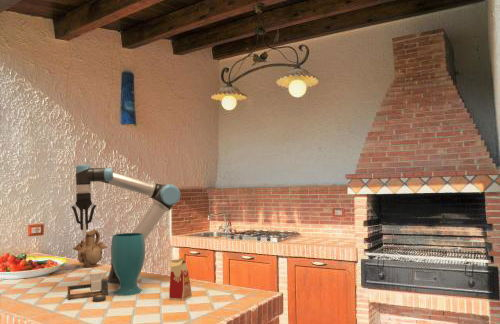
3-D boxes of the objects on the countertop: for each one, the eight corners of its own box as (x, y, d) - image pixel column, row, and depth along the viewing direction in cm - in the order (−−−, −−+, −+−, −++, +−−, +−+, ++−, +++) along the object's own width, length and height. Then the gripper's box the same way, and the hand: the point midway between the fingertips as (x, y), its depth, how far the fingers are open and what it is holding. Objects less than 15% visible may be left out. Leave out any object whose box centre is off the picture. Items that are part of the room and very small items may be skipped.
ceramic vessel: (72, 266, 310) (72, 230, 311) (99, 262, 322) (99, 227, 323) (80, 270, 296) (80, 232, 297) (109, 266, 308) (109, 230, 308)
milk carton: (191, 296, 225) (191, 256, 226) (183, 300, 216) (182, 259, 217) (175, 294, 228) (175, 255, 228) (166, 299, 219) (166, 258, 220)
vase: (134, 286, 247) (134, 232, 249) (151, 291, 235) (151, 234, 236) (105, 292, 235) (105, 234, 237) (121, 297, 223) (121, 237, 224)
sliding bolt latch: (106, 292, 235) (106, 278, 236) (108, 295, 229) (108, 281, 229) (67, 296, 227) (67, 282, 227) (68, 299, 221) (68, 285, 221)
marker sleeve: (100, 287, 233) (100, 271, 233) (101, 289, 229) (101, 273, 229) (90, 289, 231) (90, 272, 231) (91, 290, 227) (91, 274, 227)
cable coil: (104, 298, 223) (104, 293, 223) (106, 300, 218) (106, 296, 218) (92, 299, 220) (92, 295, 221) (93, 302, 215) (93, 298, 215)
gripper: (94, 192, 251) (95, 234, 250) (69, 193, 245) (70, 236, 244) (97, 192, 245) (98, 235, 244) (71, 193, 238) (72, 237, 237)
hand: (84, 235), depth 244 cm, fingers closed
